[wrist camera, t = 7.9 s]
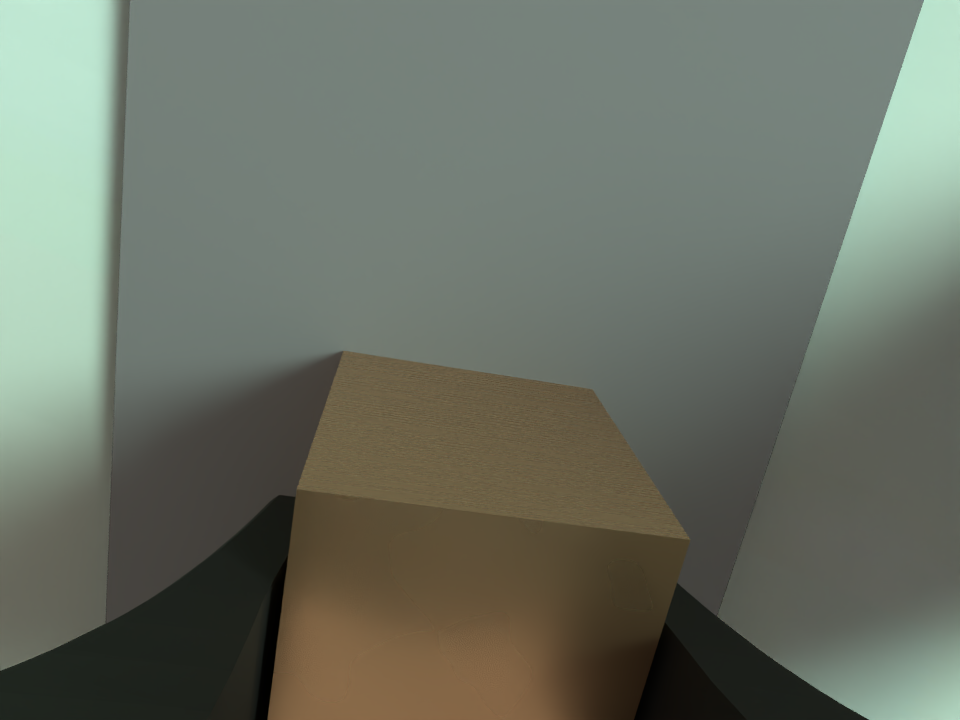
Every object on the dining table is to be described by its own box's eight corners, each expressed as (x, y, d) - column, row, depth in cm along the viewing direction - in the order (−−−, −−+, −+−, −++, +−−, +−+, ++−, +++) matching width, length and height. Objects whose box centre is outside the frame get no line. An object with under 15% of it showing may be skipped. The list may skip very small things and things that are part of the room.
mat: (181, -984, 8) (170, -1038, 8) (1115, -625, 10) (1144, -657, 9) (91, 1142, 19) (84, 1163, 19) (530, 1146, 21) (532, 1165, 20)
